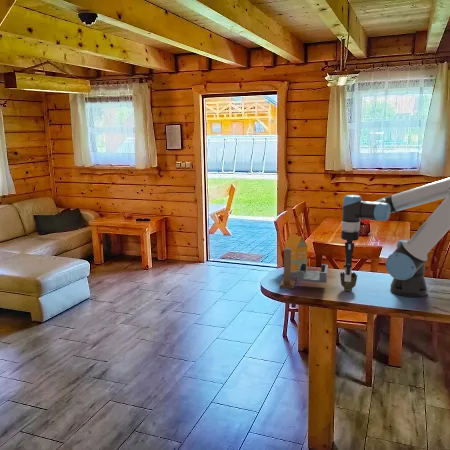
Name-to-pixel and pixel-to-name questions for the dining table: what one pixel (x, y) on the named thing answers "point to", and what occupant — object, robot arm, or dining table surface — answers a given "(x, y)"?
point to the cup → (348, 285)
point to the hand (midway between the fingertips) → (347, 276)
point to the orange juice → (297, 251)
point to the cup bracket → (301, 272)
